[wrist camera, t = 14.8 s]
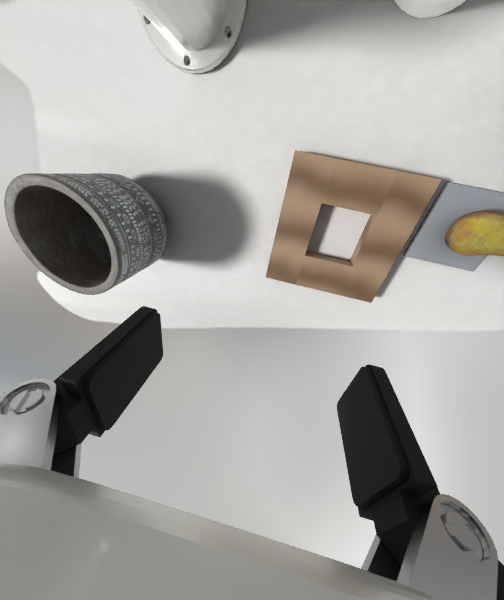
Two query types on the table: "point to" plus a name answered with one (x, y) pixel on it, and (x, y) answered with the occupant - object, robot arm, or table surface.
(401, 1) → the tall pillar cylinder
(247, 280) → the table surface
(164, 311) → the table surface
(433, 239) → the coaster
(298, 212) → the block with square hole
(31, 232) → the planter
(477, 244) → the fruit
